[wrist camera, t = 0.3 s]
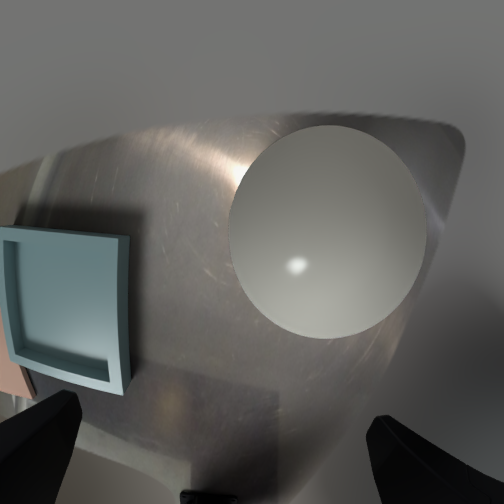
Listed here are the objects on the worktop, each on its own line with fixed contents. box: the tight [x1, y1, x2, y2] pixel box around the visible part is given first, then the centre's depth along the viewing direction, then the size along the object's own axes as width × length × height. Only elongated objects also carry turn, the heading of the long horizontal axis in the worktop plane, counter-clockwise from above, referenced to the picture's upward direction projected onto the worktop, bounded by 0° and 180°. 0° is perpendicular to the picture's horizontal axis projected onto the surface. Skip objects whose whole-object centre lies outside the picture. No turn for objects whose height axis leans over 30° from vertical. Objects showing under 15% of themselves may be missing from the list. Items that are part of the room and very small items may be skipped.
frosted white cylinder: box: [228, 125, 427, 339], centre depth 14 cm, size 6×6×13 cm
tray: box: [0, 225, 131, 395], centre depth 19 cm, size 12×12×2 cm
